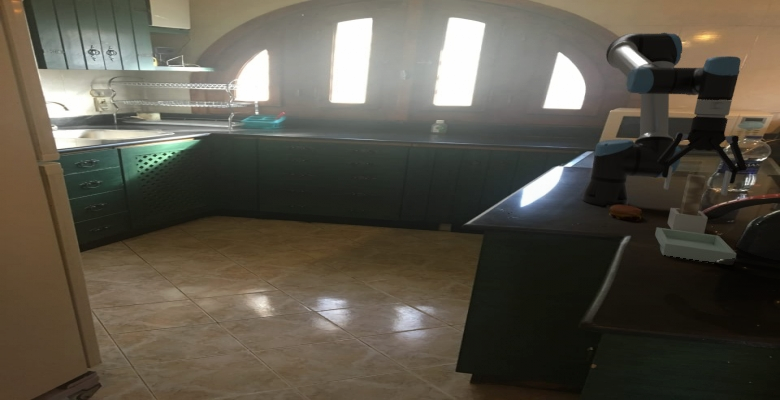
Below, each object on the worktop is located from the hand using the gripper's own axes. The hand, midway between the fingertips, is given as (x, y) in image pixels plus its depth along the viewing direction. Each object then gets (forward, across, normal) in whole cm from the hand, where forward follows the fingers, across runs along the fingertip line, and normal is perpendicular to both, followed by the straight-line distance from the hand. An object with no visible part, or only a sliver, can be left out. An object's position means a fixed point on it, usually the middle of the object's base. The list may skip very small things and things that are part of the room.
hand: (693, 191), depth 114 cm
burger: (+13, -15, +6) cm, 21 cm away
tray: (+13, -2, -18) cm, 22 cm away
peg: (+11, 0, 0) cm, 11 cm away
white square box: (+12, 0, 0) cm, 12 cm away
